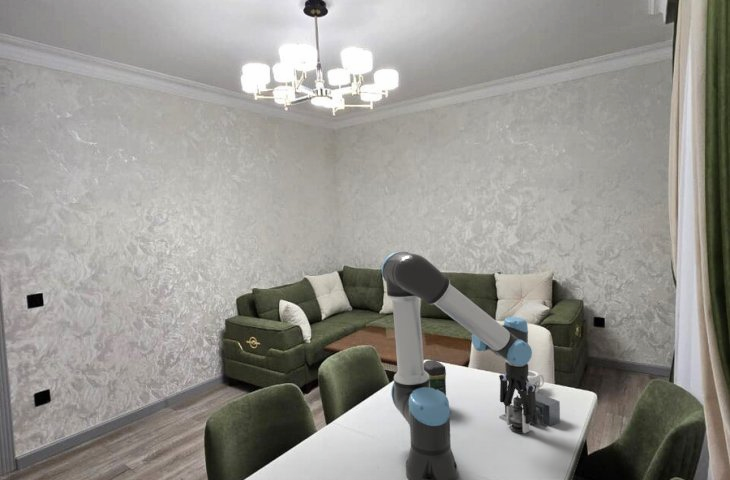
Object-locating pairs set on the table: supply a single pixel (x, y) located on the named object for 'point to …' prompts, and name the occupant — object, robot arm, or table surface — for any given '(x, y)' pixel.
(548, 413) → the gauge
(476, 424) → the table surface
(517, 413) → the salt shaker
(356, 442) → the table surface
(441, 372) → the coffee jar
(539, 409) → the plunger
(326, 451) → the table surface
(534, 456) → the table surface
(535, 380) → the mug
